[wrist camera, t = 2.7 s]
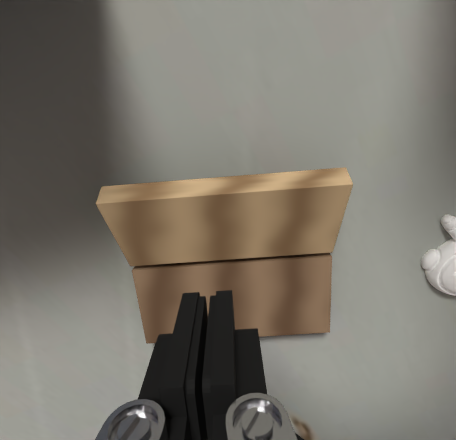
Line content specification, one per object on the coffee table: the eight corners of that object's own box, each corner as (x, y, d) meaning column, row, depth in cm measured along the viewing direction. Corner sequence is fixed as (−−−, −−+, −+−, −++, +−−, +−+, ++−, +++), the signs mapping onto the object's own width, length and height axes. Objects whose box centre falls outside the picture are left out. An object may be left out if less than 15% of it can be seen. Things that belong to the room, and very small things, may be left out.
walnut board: (326, 248, 33) (331, 256, 31) (324, 320, 36) (329, 332, 34) (137, 261, 34) (132, 270, 32) (150, 331, 37) (146, 343, 35)
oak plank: (345, 167, 26) (353, 184, 24) (327, 236, 32) (332, 252, 31) (101, 186, 26) (95, 203, 25) (133, 249, 33) (130, 266, 32)
